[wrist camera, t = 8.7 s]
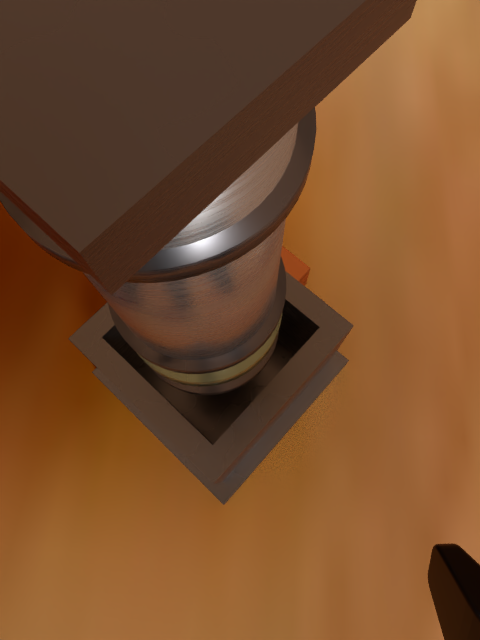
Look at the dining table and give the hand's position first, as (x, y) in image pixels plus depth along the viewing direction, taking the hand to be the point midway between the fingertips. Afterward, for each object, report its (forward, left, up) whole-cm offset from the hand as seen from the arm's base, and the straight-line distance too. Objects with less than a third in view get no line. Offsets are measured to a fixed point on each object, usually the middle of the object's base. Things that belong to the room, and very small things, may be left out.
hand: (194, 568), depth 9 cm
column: (+4, -4, -6) cm, 8 cm away
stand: (+4, -4, -11) cm, 13 cm away
